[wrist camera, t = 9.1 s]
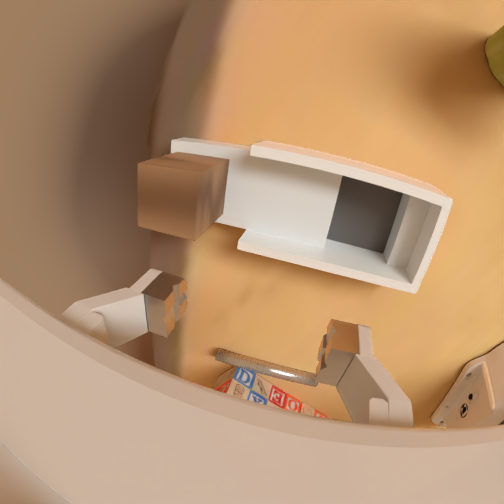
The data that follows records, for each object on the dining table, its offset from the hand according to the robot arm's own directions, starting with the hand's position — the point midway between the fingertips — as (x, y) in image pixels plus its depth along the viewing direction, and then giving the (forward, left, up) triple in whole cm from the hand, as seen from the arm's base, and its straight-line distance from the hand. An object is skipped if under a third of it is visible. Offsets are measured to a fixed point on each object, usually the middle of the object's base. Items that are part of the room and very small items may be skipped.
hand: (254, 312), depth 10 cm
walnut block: (0, +9, -15) cm, 17 cm away
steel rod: (-23, -1, -17) cm, 29 cm away
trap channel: (0, 0, -17) cm, 17 cm away
